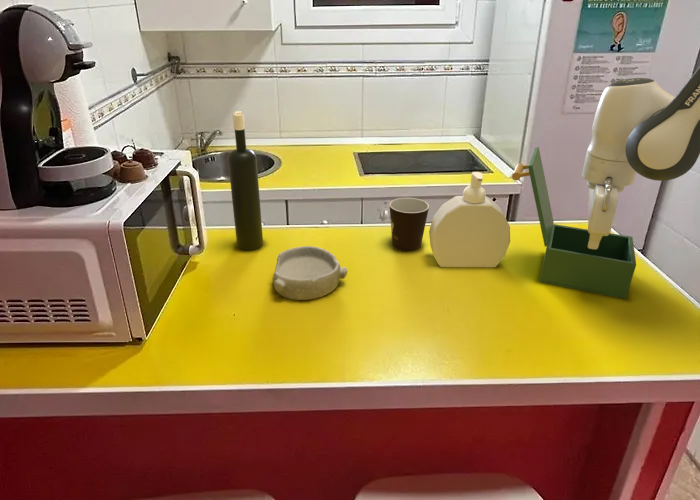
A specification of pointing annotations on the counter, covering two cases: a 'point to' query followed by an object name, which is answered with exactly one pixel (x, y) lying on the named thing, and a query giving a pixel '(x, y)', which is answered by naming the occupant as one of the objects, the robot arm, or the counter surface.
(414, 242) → the coffee mug
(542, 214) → the lid
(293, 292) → the dish
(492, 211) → the soap bottle
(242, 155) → the wine bottle
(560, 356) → the counter surface
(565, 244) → the green box
